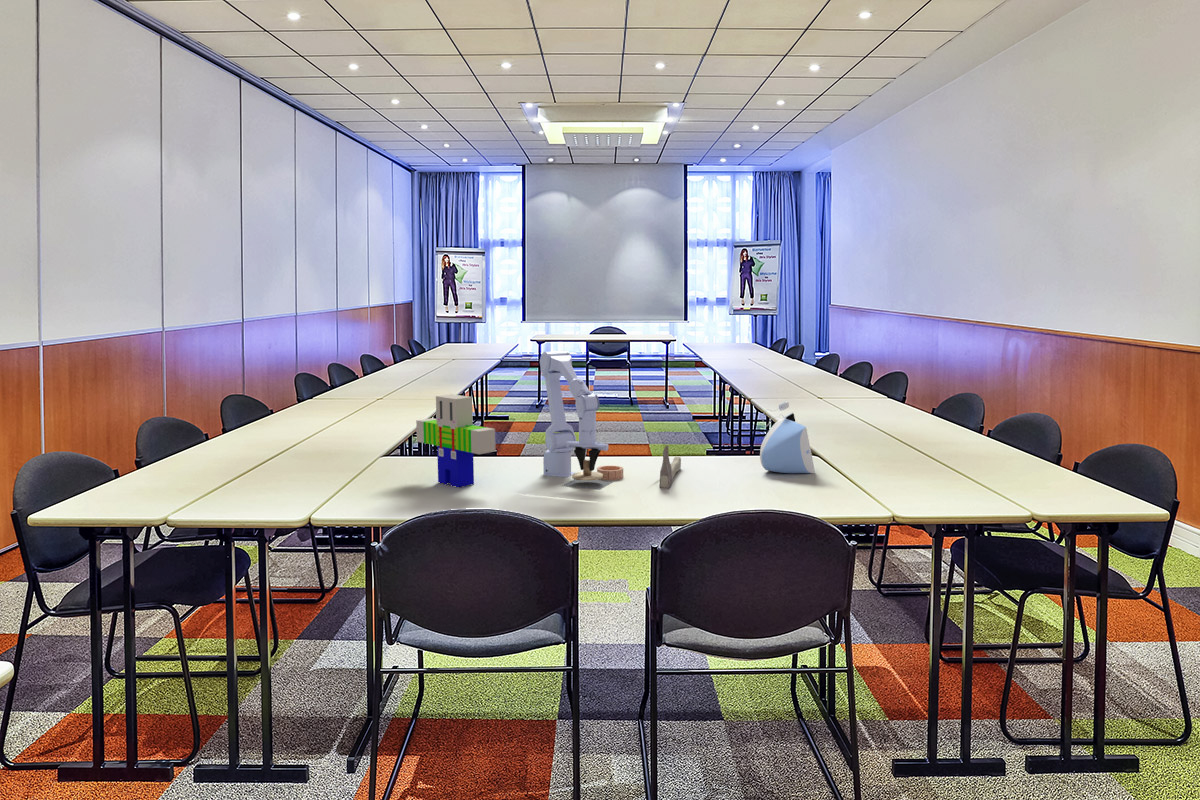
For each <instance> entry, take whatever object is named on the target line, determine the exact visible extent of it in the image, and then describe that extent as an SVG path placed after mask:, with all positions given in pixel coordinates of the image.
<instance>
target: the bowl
mask: <svg viewBox="0 0 1200 800" xmlns="http://www.w3.org/2000/svg"><path fill="white" fill-rule="evenodd" d="M596 472H598V473H602V474H603V478H601V479H600V480H604V481H609V480H610V481H612V480H620V479H623V478H624V468H623V466H619V465H602V466H598V467H596Z"/></svg>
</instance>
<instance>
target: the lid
mask: <svg viewBox="0 0 1200 800" xmlns="http://www.w3.org/2000/svg"><path fill="white" fill-rule="evenodd" d="M571 478H572V480H574V479H576V480H584V481H590V480H602V479H601V478H603V474H602V473H598V472H597V471H590V459H585V460H583V470H582V471H580V472H579V471H578V472H575V473H574V474H572V475H571Z"/></svg>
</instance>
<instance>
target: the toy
mask: <svg viewBox="0 0 1200 800" xmlns="http://www.w3.org/2000/svg"><path fill="white" fill-rule="evenodd" d="M435 414H436V416H435V417H436V418H434V417H432V418H423V419H417V420H416V422H415V423H416V442H418V443H421V444H428V445H432V446H436V447H437V449H436V453H437V455H436V457H437V483H438V482H440V483H439V484H441V483H444V484H443V485H445V484H446V485H448V484H447V483H450V484H449V485H452V486H451V487H453V486H456V487H455V488H457V487H459V488H463V487H462V486H464V487H468V486H467V485H469V486H472V485H471V484H473V485H475V474H474V473H475V470H474V468H475V467H474V466H475V465H474V464H475V463H474V454H476V455H482V454H489V453H493V452H494V453H495V452H496V428H492V427H486V426H480V425H475V424H473V422H474V421H473V397H472V396H468V395H467V396H466V395H460V394H453V393H451V394H443V395H436V396H435Z"/></svg>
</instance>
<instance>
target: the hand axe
mask: <svg viewBox="0 0 1200 800" xmlns="http://www.w3.org/2000/svg"><path fill="white" fill-rule="evenodd" d="M669 454H670V453H669V444H668V445H665V447H664V449H663V451H662V463H661V464H662V465H661V467H660V471H659V472H660V473H659V483H658V484H659V489H669V488H670V487H671V485H672V484H673V479H674V477H675V475H676V474H677V473H678V471H680V470H681V468H682V467H681V466H682V458H681V456H677V455H676V456H675V457H673V459H672V461H671V462H670V456H669ZM679 469H680V470H679Z"/></svg>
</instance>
